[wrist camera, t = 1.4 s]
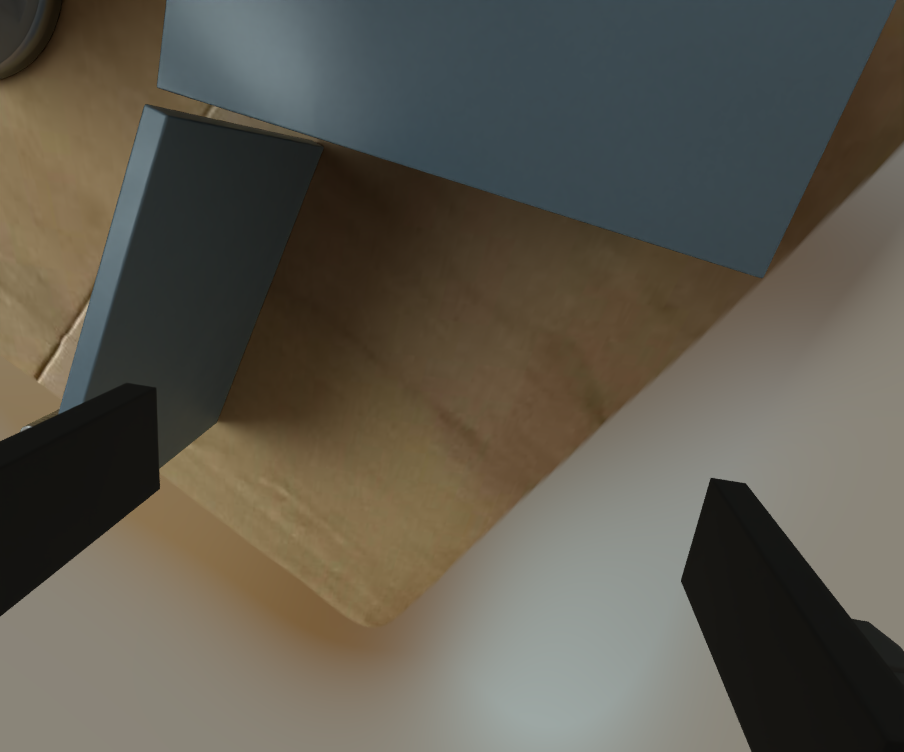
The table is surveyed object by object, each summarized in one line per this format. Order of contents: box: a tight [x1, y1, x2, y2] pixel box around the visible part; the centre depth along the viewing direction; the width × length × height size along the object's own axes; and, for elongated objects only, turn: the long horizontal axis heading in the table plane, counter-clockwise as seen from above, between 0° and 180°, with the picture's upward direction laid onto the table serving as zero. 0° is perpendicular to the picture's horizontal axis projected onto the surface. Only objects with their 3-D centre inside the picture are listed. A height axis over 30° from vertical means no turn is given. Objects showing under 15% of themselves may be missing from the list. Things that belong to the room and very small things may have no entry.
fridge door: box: [20, 104, 324, 469], centre depth 35 cm, size 6×24×19 cm, turn 154°
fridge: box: [157, 0, 896, 278], centre depth 28 cm, size 15×24×20 cm, turn 73°
